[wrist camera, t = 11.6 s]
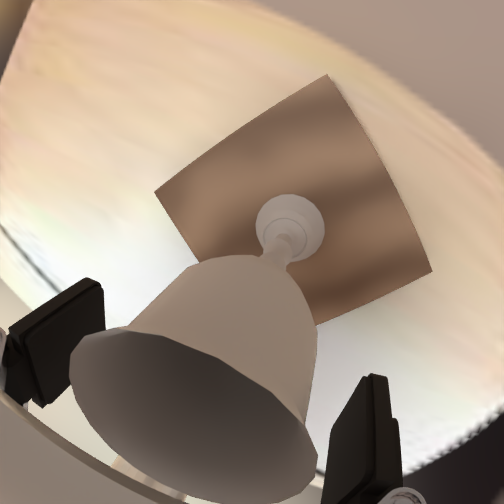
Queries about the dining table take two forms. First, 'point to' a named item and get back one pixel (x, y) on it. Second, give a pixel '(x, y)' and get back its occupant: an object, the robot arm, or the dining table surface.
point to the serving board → (310, 187)
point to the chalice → (215, 372)
